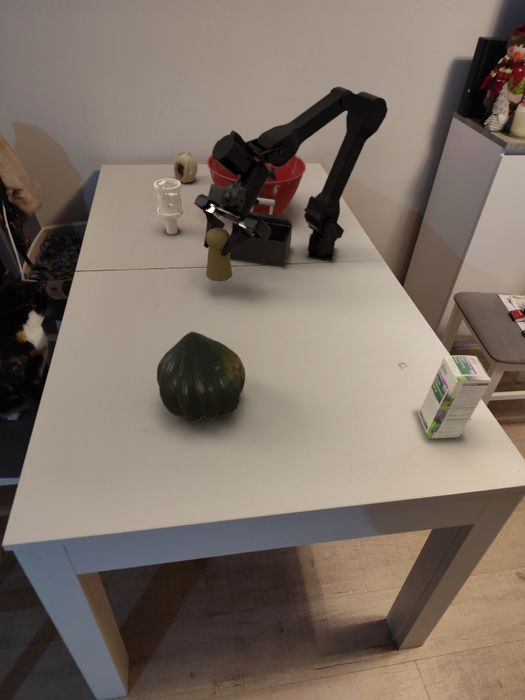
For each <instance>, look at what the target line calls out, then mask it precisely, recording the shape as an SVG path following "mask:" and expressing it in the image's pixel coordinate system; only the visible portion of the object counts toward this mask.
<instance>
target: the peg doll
mask: <svg viewBox="0 0 525 700" xmlns="http://www.w3.org/2000/svg"><path fill="white" fill-rule="evenodd" d="M205 235H206V234H205ZM229 236H230V233H229V231H228V230H226V229H225V228H213V229H211V230H209V231H208V232H207V235H206V241H207V244H208V245H209V247H208V248H207V249H208V251H207V260H206V261H207V262H206V272H205V275H206V278H207V279H208V280H209V281H212V282H219V283H221V282H225V281H228V280H231V278H232V277H233V270H232V263H231V259H230V253H229V254H227V255H226V256H225V257H224V256H222V255H221V253H222V250H223V248H224V246H225V244H226V242H227V240H228V238H229Z"/></svg>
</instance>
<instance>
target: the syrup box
mask: <svg viewBox="0 0 525 700" xmlns="http://www.w3.org/2000/svg"><path fill="white" fill-rule="evenodd" d="M491 382H492V379H491V377H490V376H489V374H488V373H487V371H486V370H485V367H484V366H483V364H482V363H481V361H480V359H479V358H478V356H477V355H461V354H460V355H446V356H444V357H443V358H442V360H441V363H440V364H439V367H438V369H437V371H436V374H435V376H434V378H433V380H432V382H431V384H430V387H429V389H428V391H427V393H426V396H425V397H424V400H423V402H422V404H421V407H420V409H419V411H418V414H417V415H418V417H419V419H420V422H421V425H422V427H423V429H424V431H425V434H426V437H427V438H428V439H449V438H459V437H460V436H461V434H462V432H463V431H464V429H465V427H466V425H467V424H468V423H469V420H470V418H471V417H472V416H473V414H474V412H475V410H476V408H477V406H478V405H479V403H480V402H481V400H482V398H483V396H484V394H485V393H486V391H487V390H488V388H489V386H490V384H491Z"/></svg>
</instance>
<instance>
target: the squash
mask: <svg viewBox="0 0 525 700" xmlns="http://www.w3.org/2000/svg"><path fill="white" fill-rule="evenodd" d="M156 381H157V385H158V391H159V392H158V393H159V396H160V399H161V402H162V405H163V406H164V407H165V408H166V410H167V411H168V412H169V413H170V414H172V415H174V416H176V417H181V418H183V417H184V418H186V419H187V420H188V421H190V422H193V423H195V422H199V421H200V420H201V418H202V417H203V418H204V419H206V420H213V419H215V418H216V417H217V415H219V416H230V415H231V414H233V413H234V412H235V411H236V410H237V409H238V407H239V404H240V400H241V394H242V392H243V390H244V387H245V383H246V369H245V367H244V364H243V361H242V360H241V358H240V356H239V355H238V354H237V353H236V352H235V351H233V350H232V349H231V348H230V347H228V346H227V345H225V344H224V343H222V342H220V341H218V340H215V339H212V338H210V337H208V336H207V335H204V334H202V333H199V332H195V331H194V330H193V331H189V332H188V333H186V334H185V335H184V336H183V337H182V338H181V339H179V340H178V341H177V343H175V344H174V345H173V346H172V347H170V348H169V350H167V352H166V353H165V354H164V355H163V356H162V358H161V359H160V360H159V363H158V364H157V368H156Z"/></svg>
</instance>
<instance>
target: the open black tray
mask: <svg viewBox="0 0 525 700" xmlns="http://www.w3.org/2000/svg"><path fill="white" fill-rule="evenodd" d="M236 224H238V223H236ZM266 224H267V225H268V226H269V227H270V228H271V235H270V237H269V238H268V240H267V241H266V240H264V239H261V238H259V237H257V236H256V232H255V234H254V237H255V238H254V239H252V238H251V239H249V240H247V241H246V242H244V243H243V244H241V245H239V246H238V247H237V248H235V249H234V250H233V251H231V252H230V253H229V257H230V260H235V261H242V262H247V263H254V264H261V265H268V266H273V267H281V268H284V267H285V266H286V263H287V259H288V257H289V253H290V251H291V245H292V244H291V243H292V232H293V226H285V225H278V224H271V223H266ZM238 225H239V224H238Z"/></svg>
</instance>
